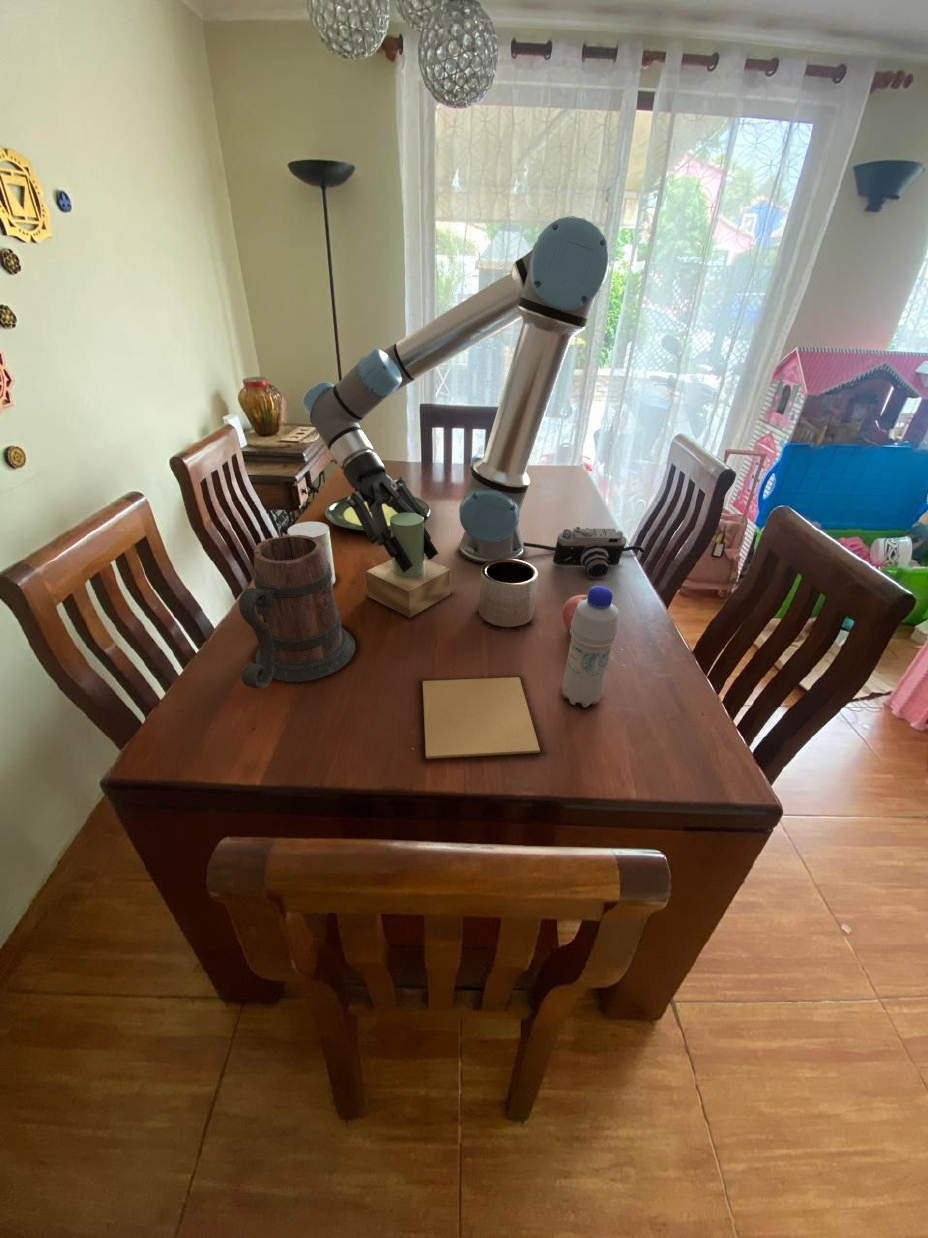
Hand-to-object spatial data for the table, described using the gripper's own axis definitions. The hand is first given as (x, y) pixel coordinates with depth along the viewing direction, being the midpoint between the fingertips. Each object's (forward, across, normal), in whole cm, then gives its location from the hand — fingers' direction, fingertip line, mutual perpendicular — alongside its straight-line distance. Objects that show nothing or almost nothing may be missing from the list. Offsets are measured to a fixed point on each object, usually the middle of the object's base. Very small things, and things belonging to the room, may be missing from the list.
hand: (421, 562), depth 101 cm
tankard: (+5, +28, -8) cm, 30 cm away
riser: (+4, 0, -9) cm, 10 cm away
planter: (+17, -8, +4) cm, 20 cm away
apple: (+27, -12, +14) cm, 33 cm away
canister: (0, 0, -5) cm, 5 cm away
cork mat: (+27, +18, +14) cm, 35 cm away
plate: (-21, -24, -34) cm, 47 cm away
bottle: (+34, +4, +21) cm, 40 cm away
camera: (+20, -35, +7) cm, 41 cm away
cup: (-10, +9, -22) cm, 26 cm away
